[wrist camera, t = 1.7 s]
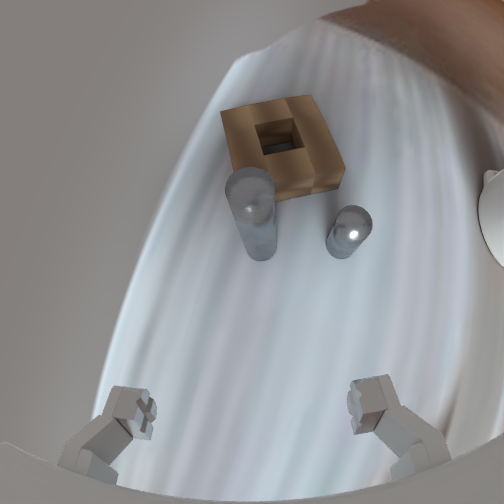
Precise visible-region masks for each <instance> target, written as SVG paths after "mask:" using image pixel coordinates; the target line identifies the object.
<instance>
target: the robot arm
mask: <svg viewBox="0 0 504 504" xmlns="http://www.w3.org/2000/svg"><path fill="white" fill-rule="evenodd" d="M483 180H484V188H483V191H482V193H481V196H480V199H479V220H480V225H481V229H482V232H483V235H484V238H485V241H486V243H487V245H488V247H489V249H490V251H491V252H492V254H493V256H494V257H495V258H496V260H497V261H498V262H499V263H500V264H501V265H502V266H503V267H504V169H502V170H501V171H493V170H488V171H486V172H485V173H484V176H483ZM350 388H351V390H350V391H349V392H348V395H347V406H348V411H349V413H350V414H351V415H352V416H353V417H352V420H351V424H352V429H353V433H354V435H356V434H362V433H367V432H373V431H374V433H375V434H376V435H377V436H378V437H379V438H380V439H381V440H382V441H383V442H384V443H385V444H386V445H387V446H388V447H389V448H390V449H391V450H392V451H393V452H394V453H395V454H396V455H397V456H398V457H399V458H400V459H399V460H398V461H397V462H396V463H395V464H394V465H393V466H392V467H391V469H390V470H391V475H392V479H393V481H391V482H387V483H384V484H380V485H376V486H372V487H368V488H364V489H359V490H355V491H350V492H345V493H339V494H333V495H327V496H320V497H313V498H304V499H294V500H281V501H258V502H236V501H213V500H200V499H190V498H181V497H174V496H167V495H161V494H155V493H150V492H144V491H140V490H135V489H131V488H126V487H122V486H118V485H116V482H117V478H118V473H117V471H116V470H114V469H113V468H112V467H110V466H109V465H110V464H111V463H112V462H113V461H114V460H115V459H116V458H117V456H118V455H119V454H120V453H121V452H122V451H123V450H124V449H125V448H126V447H127V446H128V444H129V443H130V442H131V441H132V440H133V438H136V439H144V440H151V436H152V432H153V426H152V424H151V423H152V422H153V421H154V420H155V419H156V415H157V406H156V403H155V401H154V399H152V398H151V397H149V395H150V393H149V391H148V390H147V389H140V388H131V387H123V386H114V387H113V388H112V389H111V391H110V394H109V397H108V399H107V402H106V405H105V408H104V410H103V413H102V415H98V416H97V417H96V418H95V419H94V420H92V421H91V422H90V423H89V424H88V425H86V426H85V427H84V428H83V429H81V430H80V431H79V432H78V433H76V434H75V435H74V436H73V437H71V438H70V439H69V440H68V441H66V442H65V445H64V448H63V450H62V453H61V456H60V459H59V462H58V464H57V465H55V464H52V463H50V462H47V461H45V460H43V459H41V458H38V457H36V456H34V455H32V454H30V453H27V452H25V451H24V450H22V449H20V448H18V447H16V446H14V445H12V444H10V443H7V442H2V443H0V504H504V433H503V434H501V435H499V436H498V437H496V438H494V439H492V440H490V441H489V442H487V443H485V444H483V445H481V446H479V447H477V448H475V449H473V450H471V451H469V452H467V453H465V454H463V455H461V456H459V457H456V458H454V459H451V456H450V453H449V450H448V447H447V444H446V442H445V439H444V436H443V434H442V433H441V432H439V431H438V430H437V429H435V428H434V427H432V426H431V425H430V424H428V423H427V422H426V421H424V420H423V419H422V418H420V417H419V416H417V415H416V414H415V413H413V412H412V411H411V410H409V409H408V408H407V407H405V406H401V405H400V402H399V400H398V397H397V394H396V392H395V389H394V386H393V384H392V381H391V378H390V376H389V375H388V374H385V375H381V376H376V377H375V376H374V377H369V378H364V379H359V380H354V381H352V382H351V384H350Z"/></svg>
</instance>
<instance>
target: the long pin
mask: <svg viewBox="0 0 504 504" xmlns="http://www.w3.org/2000/svg"><path fill="white" fill-rule="evenodd" d="M225 193H226V197H227V200H228V202H229V205H230V208H231V210H232V213H233V216H234V218H235V221H236V224H237V226H238V229H239V232H240V234H241V237H242V240H243V242H244V245H245V248H246V250H247V253H248V255H249V256H250V257H251V258H252V259H254V260H257V261H265V260H268V259H270V258H271V257H272V256H273V255H274V254H275V252H276V248H277V239H276V204H275V184H274V181H273V179H272V177H271V176H270V174H269V173H267V172H266V171H264V170H263V169H260V168H256V167H246V168H242V169H240V170H238V171H236V172H235V173H233V174H232V175H231V176H230V177H229V179H228V181H227V183H226V187H225Z"/></svg>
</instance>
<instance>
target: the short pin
mask: <svg viewBox="0 0 504 504" xmlns="http://www.w3.org/2000/svg"><path fill="white" fill-rule="evenodd" d="M371 230H372V219H371V216H370V215H369V213H368V212H367V211H366V210H365V209H363V208H362V207H359V206H355V205H351V206H347V207H345V208H343V209H342V210H341V211H340V213H339V215H338V217H337V219H336V221H335V223H334V225H333V227H332V229H331V231H330V234H329V236H328V238H327V240H326V247H327V250H328V252H329V253H330V254H331V255H332V256H333V257H335V258H337V259H346V258H348V257H350V256H351V255H352V254H353V253H354V252H355V250H356V249H357V248H358V247H359V246H360V245H361V243H362V242H363V241H364V240H365V239H366V238H367V236H368V235H369V234H370V232H371Z"/></svg>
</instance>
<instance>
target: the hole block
mask: <svg viewBox="0 0 504 504" xmlns="http://www.w3.org/2000/svg"><path fill="white" fill-rule="evenodd" d="M220 113H221V117H222V122H223V126H224V130H225V135H226V139H227V143H228V147H229V152H230V156H231V160H232V165H233V169H234V173H235V172H236V171H238V170H240V169H242V168H246V167H256V168H260V169H263V170H264V171H266V172H267V173H269V174H270V176H271V177H272V179H273V181H274V184H275V202H278V201H282V200H287V199H291V198H296V197H300V196H305V195H310V194H314V193H319V192H324V191H329V190H334V189H338V187H339V185H340V182H341V179H342V176H343V174H344V171H345V168H346V167H345V165H344V162H343V160H342V158H341V156H340V153H339V151H338V149H337V147H336V144H335V142H334V140H333V138H332V136H331V134H330V131H329V129H328V127H327V125H326V123H325V121H324V119H323V117H322V115H321V113H320V111H319V109H318V107H317V105H316V103H315V101H314V99H313V97H312V95H304V96H297V97H290V98H284V99H278V100H272V101H267V102H262V103H256V104H252V105H247V106H242V107H238V108H233V109H229V110H225V111H221V112H220ZM291 141H292V143H293V146H294V148H295V149H293V150H288V151H283V152H278V153H273V154H269V155H264V154H263V151H262V147H266V146H271V145H276V144H281V143H286V142H291Z"/></svg>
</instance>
